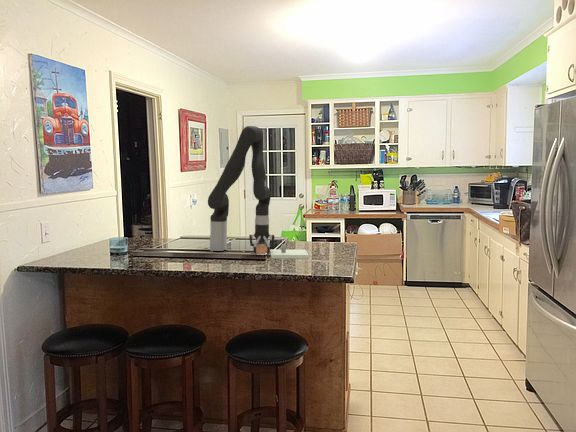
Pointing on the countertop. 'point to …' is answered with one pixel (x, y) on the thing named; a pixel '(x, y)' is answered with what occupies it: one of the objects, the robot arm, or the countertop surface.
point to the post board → (288, 253)
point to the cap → (261, 249)
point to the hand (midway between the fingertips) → (261, 253)
